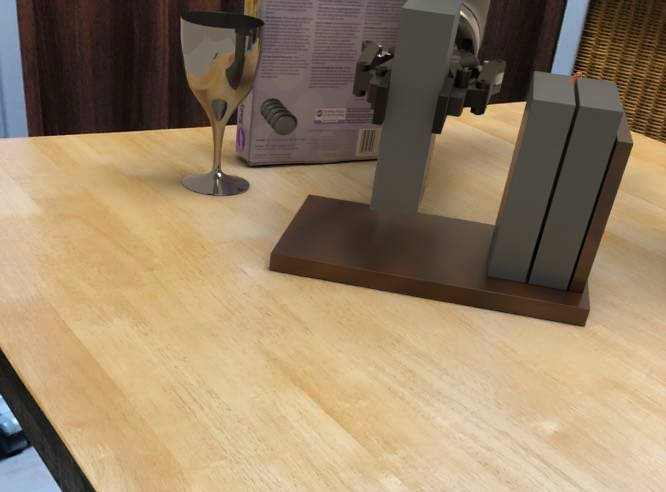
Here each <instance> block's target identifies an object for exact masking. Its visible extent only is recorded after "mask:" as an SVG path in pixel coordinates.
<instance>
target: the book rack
mask: <svg viewBox="0 0 666 492" xmlns="http://www.w3.org/2000/svg"><path fill="white" fill-rule="evenodd" d="M623 111H624V114H623V117H622V120H621V123H620V126H619V129H618V132H617V135H616V138H615V141H614V145H613V148H612V151H611V154H610V157H609V160H608V163H607V166H606V169H605V172H604V175H603V179H602V182H601V185H600V188H599V191H598V194H597V197H596V200H595V203H594V206H593V209H592V213H591V216H590V219H589V222H588V225H587V228H586V231H585V234H584V237H583V240H582V243H581V247H580V250H579V253H578V256H577V259H576V262H575V265H574V268H573V271H572V274H571V277H570V281H569V284H568V287H567V290H562V289H556V288H550V287H544V286H539V285H533V284H528V279H529V269H528V273H527V276H526V280H525V282H524V283H522V282H516V281H510V280H505V279H499V278H493V277H488V276H487V273H488V265H489V258H490V250H491V243H492V235H493V231H494V227H495V224H493V223H492V224H491V223H487V222H479V221H474V220H472V221H471V220H467V219H463V218H462V219H461V218H455V217H449V216H442V215H437V214H430V213H426V212H419V211H418V212H417V215H416V217H415V218H414V217H408V216H403V215H397V214H391V213H385V212H379V211H373V210H370V203H364V202H359V201H353V200H348V199H347V200H346V199H341V198H340V199H339V198H336V197H335V198H334V197H329V196H328V197H327V196H323V195H316V194H308V195H307V197H306V198H305V200H304V201H303V202H302V204H301V206H300V207H299V208H298V210H297V212H296V213H295V215H294V216H293V218H292V219H291V221H290V222H289V224H288V226H287V227H286V229H285V230H284V232H283V233H282V235H281V237H280V238H279V239H278V241H277V243H276V245H274V247H273V248H272V250H271V252H270V255H269V271H276V272H281V273H286V274H292V275H297V276H302V277H303V276H304V277H309V278H314V279H318V280H319V279H320V280H324V281H329V282H330V281H331V282H336V283H341V284H347V285H353V286H358V287H364V288H370V289H376V290H381V291H387V292H392V293H397V294H403V295H409V296H414V297H419V298H426V299H431V300H436V301H443V302H448V303H454V304H458V305H465V306H471V307H475V308H476V307H477V308H481V309H487V310H493V311H498V312H504V313H510V314H514V315H520V316H526V317H530V318H531V317H532V318H537V319H544V320H549V321H554V322H559V323H565V324H569V325H570V324H571V325H576V326H582V327H585V326H586V324H587V321H588V318H589V316H590V312H591V302H590V291H589V290H590V289H589V277H590V274H591V271H592V268H593V266H594V263H595V259H596V257H597V254H598V251H599V248H600V244H601V241H602V238H603V237H604V233H605V230H606V228H607V227H606V226H607V224H608V221H609V218H610V215H611V212H612V209H613V207H614V203H615V200H616V199H617V198H616V197H617V194H618V191H619V189H620V186H621V182H622V180H623V177H624V174H625V170H626V168H627V166H628V165H627V164H628V162H629V158H630V156H631V153H632V150H633V147H634V140H633V136H632V132H631V129H630V125H629V121H628V118H627V114H626V111H625V110H623Z"/></svg>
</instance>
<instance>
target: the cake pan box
mask: <svg viewBox="0 0 666 492" xmlns="http://www.w3.org/2000/svg"><path fill="white" fill-rule="evenodd" d="M407 1H408V0H244V6H243V7H244V8H243V15H248V16H252V17H255V18H258V19H260V20H262V21H264V23H265V29H264V43H263V52H262V58H261V63H260V68H259V72H258V76H257V79H256V82H255V85H254V87H253V89H252V91H251V92H250V93H249V95H248V96H247V97H246V98H245V99H244V101H243V102H242V103H241V104H240V105H239V106H238V107H237V120H236V131H235V132H236V133H235V135H236V136H235V148H234V149H235V150H234V151H235V152H236V154H238V155H239V156H240V157H241V158H242V159H243V160H244V161H245V162H246V164H247V165H249V166H263V165H280V164H281V165H282V164H283V165H284V164H326V163H337V162H344V161H345V162H346V161H364V160H365V161H366V160H377V159H378V153H379V147H380V140H381V134H382V128H383V123H382V125H376V124H372V119H373V113H374V110H372V109H371V108H370V106H371V103H368V102H367V94H368V92H367V94H366V95H365V96H362V97H358V96H355V95H354V94H352V92H353V85H354V77H355V70H356V63H357V61H358V59H359V57H360V54H361V47H362V41H366V40H372V42H375V43H376V44H377V45H382V46H383V49H382V51H386V52H388V50H389V48H390V47H391V46H392V45H395V44H396V41H397V34H398V28H399V22H400V16H401V10H402V7H403V6H404V5H405V3H406V2H407ZM383 122H384V121H383Z"/></svg>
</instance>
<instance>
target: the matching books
mask: <svg viewBox="0 0 666 492" xmlns="http://www.w3.org/2000/svg"><path fill="white" fill-rule="evenodd" d="M572 76H573V75H567V74H566V75H565V74H558V73H554V72H553V73H551V72H546V71H545V72H544V71H539V70H534V71H533V74H532V78H531V81H530V86H529V89H528V93H527V96H526V97H527V98H526V101H525V105H524V109H523V113H522V117H521V121H520V124H519V125H520V126H519V130H518V133H517V137H516V140H515V145H514V149H513V153H512V156H511V161H510V165H509V168H508V172H507V177H506V180H505V184H504V188H503V192H502V196H501V200H500V204H499V207H498V211H497V216H496V220H495V223H494V225H495V227H494V231H493V235H492V243H491V250H490V258H489V265H488V273H487V276H488V277H493V278H499V279H505V280H510V281H516V282H522V283H524V282H525V280H526V276H527V273H528V269H529V279H528V284H533V285H539V286H544V287H550V288H556V289H562V290H567V287H568V284H569V281H570V277H571V274H572V271H573V268H574V265H575V262H576V259H577V256H578V253H579V250H580V247H581V243H582V240H583V237H584V234H585V231H586V228H587V225H588V222H589V219H590V216H591V213H592V209H593V206H594V203H595V200H596V197H597V194H598V191H599V188H600V185H601V182H602V179H603V175H604V172H605V169H606V166H607V163H608V160H609V157H610V154H611V151H612V148H613V145H614V141H615V138H616V135H617V132H618V129H619V126H620V123H621V120H622V117H623V114H624V111H625V110H624V108H623V104H622V103H623V102H622V100H621V96H620V92H619V89H618V85H617V82H616V81H609V80H602V79H595V78H590V77H589V78H588V77H583V76H582V77H577V78H576V81H575V85H573V77H572Z"/></svg>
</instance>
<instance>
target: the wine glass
mask: <svg viewBox="0 0 666 492" xmlns="http://www.w3.org/2000/svg"><path fill="white" fill-rule="evenodd" d="M179 26H180V28H179V29H180V32H179V34H180V35H179V37H180V38H179V39H180V53H181V63H182V66H183V67H182V69H183V74H184V76H185V80H186V84H187V86H188V87H189V89H190V91H191V92H192V94H193V96H194V97H195V98H196V100H197V101H198V103H199V104H200V106H201V107H202V108H203V109H204V111H205V113H206V115H207V117H208V119H209V122H210V125H211V130H212V131H211V132H212V133H211V134H212V143H213V157H212V158H213V162H212V168H211V170H210V171H208V170H205V171H196V172H192V173H189V174H187V175H185V176H184V177H183V178H182V180H181V183H182V185H183V186H184V187H185V188H186V189H188V190H191V191H193V192H196V193H199V194H204V195H211V196H234V195H239V194H242V193H245V192H247V191H248V190H249V189H250V188H251V185H250V182H249V181H248V179H246V178H244V177H242V176H239V175H237V174H234V173H229V172H224V171H223V170H222V163H221V162H222V148H223V141H224V136H225V130H226V126H227V125H228V122H229V120H230V118H231V117H232V115H233V113H234V112H235V111H236V110H237V109H238V106H239V105H240V104H241V103H242V102H243V101H244V99H245V98H246V97H247V96H248V95H249V93H250V92H251V91H252V89H253V87H254V85H255V82H256V79H257V76H258V72H259V68H260V63H261V58H262V52H263V43H264V29H265V23H264V21H262V20H260V19H258V18H255V17H252V16H248V15H244V13H237V12H229V11H217V10H216V11H215V10H197V11H196V10H195V11H189V12H185V13H183V14H181V15H180V25H179Z"/></svg>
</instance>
